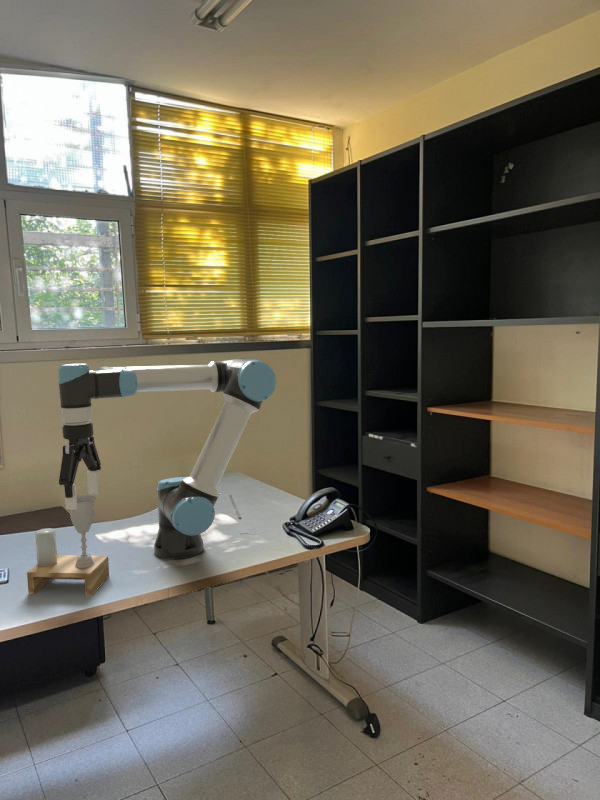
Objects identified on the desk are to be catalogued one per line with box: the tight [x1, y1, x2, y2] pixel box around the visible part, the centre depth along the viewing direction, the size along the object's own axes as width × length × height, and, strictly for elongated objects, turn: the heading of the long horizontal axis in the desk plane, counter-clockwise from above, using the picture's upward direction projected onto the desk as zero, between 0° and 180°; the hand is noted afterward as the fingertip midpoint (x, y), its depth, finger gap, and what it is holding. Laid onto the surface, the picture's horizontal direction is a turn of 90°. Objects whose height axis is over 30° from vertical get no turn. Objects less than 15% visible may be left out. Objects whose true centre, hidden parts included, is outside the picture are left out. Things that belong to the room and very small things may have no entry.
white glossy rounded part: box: [34, 527, 58, 567], centre depth 160 cm, size 5×5×9 cm
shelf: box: [26, 554, 110, 596], centre depth 160 cm, size 17×12×6 cm
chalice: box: [69, 494, 97, 568], centre depth 158 cm, size 7×7×18 cm
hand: (83, 501), depth 158 cm, fingers open, 13 cm apart
